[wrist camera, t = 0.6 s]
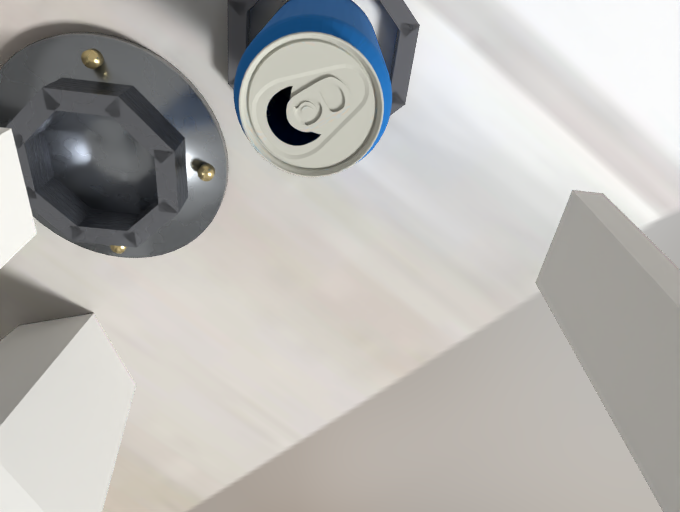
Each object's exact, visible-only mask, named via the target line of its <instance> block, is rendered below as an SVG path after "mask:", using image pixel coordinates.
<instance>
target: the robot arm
mask: <svg viewBox="0 0 680 512" xmlns="http://www.w3.org/2000/svg"><path fill="white" fill-rule="evenodd" d="M36 234H37V232H36V228H35V223H34V219H33V215H32V211H31V207H30V203H29V199H28V195H27V191H26V187H25V182H24V178H23V174H22V170H21V166H20V162H19V158H18V154H17V150H16V146H15V141H14V137H13V133H12V129H11V128H3V127H0V269H1V268H2V267H3V266H4V265H5V264H6V263H7V262H8V261H9V260H10V259H11V258H12V257H13V256H14V255H15V254H16V253H17V252H18V251H19V250H20V249H21V248H22V247H23V246H24V245H25V244H27V243H28V242H29V241H30V240H31V239H32V238H33V237H34V236H35V235H36ZM536 284H537V286H538V288H539V290H540V292H541V293H542V295H543V297H544V299H545V300H546V302H547V304H548V306H549V308H550V310H551V311H552V313H553V315H554V317H555V319H556V320H557V322H558V324H559V326H560V328H561V329H562V331H563V333H564V335H565V337H566V338H567V340H568V342H569V344H570V345H571V347H572V349H573V351H574V353H575V354H576V356H577V358H578V360H579V362H580V363H581V365H582V367H583V369H584V370H585V372H586V374H587V376H588V378H589V379H590V381H591V383H592V385H593V387H594V388H595V390H596V392H597V394H598V396H599V398H600V399H601V401H602V403H603V405H604V406H605V408H606V410H607V412H608V414H609V415H610V417H611V419H612V421H613V423H614V424H615V426H616V428H617V430H618V432H619V433H620V435H621V437H622V439H623V440H624V442H625V444H626V446H627V448H628V449H629V451H630V453H631V455H632V457H633V459H634V460H635V462H636V464H637V465H638V467H639V469H640V471H641V473H642V475H643V476H644V478H645V480H646V482H647V483H648V485H649V487H650V489H651V491H652V493H653V494H654V496H655V498H656V500H657V502H658V503H659V505H660V507H661V509H662V511H663V512H680V269H679V268H678V267H677V266H676V265H675V264H674V263H673V262H672V261H671V260H670V259H669V258H668V257H667V256H666V255H665V254H664V253H663V252H662V251H661V250H660V249H659V248H658V247H657V246H656V245H655V244H654V243H653V242H652V241H651V240H650V239H649V238H648V237H647V236H646V235H645V234H644V233H643V232H642V231H641V230H640V229H639V228H638V227H637V226H636V225H635V224H634V223H633V222H632V221H630V220H629V219H628V218H627V217H626V216H625V215H624V214H623V213H622V212H621V211H620V210H619V209H618V208H617V207H616V206H615V205H614V204H613V203H612V202H611V201H610V200H609V199H608V198H607V197H606V196H605V195H604V194H603V193H594V192H585V191H576V190H572V192H571V195H570V197H569V200H568V203H567V205H566V208H565V210H564V213H563V215H562V218H561V220H560V223H559V225H558V228H557V230H556V233H555V235H554V238H553V240H552V243H551V245H550V248H549V250H548V253H547V255H546V258H545V260H544V263H543V265H542V268H541V270H540V273H539V275H538V278H537V280H536Z"/></svg>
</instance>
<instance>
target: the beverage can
mask: <svg viewBox="0 0 680 512" xmlns="http://www.w3.org/2000/svg"><path fill="white" fill-rule="evenodd" d="M234 103H235V109H236V113H237V117H238V120H239V123H240V125H241V127H242V129H243V131H244V133H245V135H246V136H247V138H248V140H249V141H250V143H251V144H252V146H253V147H254V148H255V150H256V151H257V152H258V153H259V154H260V155H261V156H262V157H263V158H264V159H265V160H266V161H268V162H269V163H270V164H272V165H273V166H275V167H276V168H278V169H280V170H282V171H285V172H287V173H290V174H293V175H297V176H302V177H324V176H330V175H333V174H336V173H339V172H341V171H344V170H346V169H348V168H349V167H351V166H353V165H354V164H355V163H357V162H359V161H360V160H361V159H363V158H364V157H365V156H366V155H367V154H368V153H369V152H370V151H371V150H372V149H373V148H374V147H375V145H376V144H377V143H378V141H379V140H380V138H381V136H382V135H383V133H384V131H385V128H386V126H387V124H388V120H389V117H390V113H391V106H392V88H391V81H390V77H389V73H388V69H387V67H386V64H385V61H384V58H383V55H382V52H381V49H380V46H379V44H378V41H377V38H376V35H375V32H374V30H373V27H372V25H371V23H370V21H369V19H368V17H367V16H366V15H365V13H364V12H363V11H362V10H361V8H360V7H359V6H358V5H356V4H355V3H354V2H353V1H351V0H289V1H288V2H287V3H285V4H284V5H283V6H282V7H281V8H280V9H279V10H278V12H277V13H276V14H275V15H274V16H273V17H272V18H271V20H270V21H269V22H268V23H267V24H266V25H265V27H264V28H263V29H262V30H261V31H260V32H259V33H258V35H257V36H256V37H255V38H254V39H253V40H252V42H251V43H250V44H249V46H248V47H247V48H246V50H245V52H244V54H243V55H242V57H241V59H240V62H239V65H238V67H237V71H236V75H235V80H234Z"/></svg>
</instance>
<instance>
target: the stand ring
mask: <svg viewBox="0 0 680 512" xmlns="http://www.w3.org/2000/svg"><path fill="white" fill-rule="evenodd" d="M258 1H259V0H228V84H229V85H230V86H231V87H232V88H233V89H234V80H235V75H236V71H237V67H238V65H239V62H240V59H241V57H242V55H243V54H244V52H245V50H246V48H247V47H248V46H249V28H250V8H252V7H253V6H254V5H255V4H256V3H257V2H258ZM380 2H381V3H382V5H383V6H384V8H385V9H386V11H387V12H388V14H389V15H390V17H391V18H392V20H393V21H394V23H395V24H396V26H397V27H398V32H397V38H396V45H395V51H394V57H393V63H392V69H391V75H390V81H391V88H392V106H391V113H390V115H392V114H393V113H394V112H395V111H397V110H398V109H399V108H401V107H402V106H403V105H405V102H406V96H407V91H408V85H409V80H410V74H411V69H412V64H413V58H414V53H415V47H416V42H417V36H418V31H419V26H420V25H419V24H418V22H417V21H416V19H415V18H414V16H413V15H412V13H411V11H410V10H409V8H408V7H407V5H406V4H405V2H404V1H403V0H380Z"/></svg>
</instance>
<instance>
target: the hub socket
mask: <svg viewBox="0 0 680 512" xmlns="http://www.w3.org/2000/svg"><path fill="white" fill-rule="evenodd" d="M0 127H3V128H11V129H12V133H13V137H14V141H15V146H16V150H17V154H18V158H19V162H20V166H21V170H22V174H23V178H24V182H25V187H26V191H27V195H28V199H29V203H30V207H31V211H32V215H33V217H35V218H36V219H37V220H38V221H39V222H40V223H42V224H43V225H44V226H46V227H47V228H48V229H50V230H51V231H53V232H54V233H56V234H57V235H59V236H61V237H63V238H64V239H66V240H68V241H70V242H72V243H74V244H76V245H78V246H81V247H83V248H86V249H89V250H92V251H94V252H98V253H102V254H106V255H111V256H118V257H128V258H142V257H152V256H157V255H163V254H166V253H169V252H172V251H175V250H177V249H179V248H181V247H183V246H185V245H187V244H188V243H190V242H191V241H193V240H194V239H196V238H197V237H198V236H199V235H200V234H201V233H202V232H203V231H204V230H205V229H206V228H207V227H208V225H209V224H210V223H211V222H212V220H213V218H214V217H215V215H216V213H217V211H218V210H219V207H220V205H221V202H222V200H223V197H224V195H225V191H226V186H227V181H228V155H227V150H226V145H225V140H224V137H223V134H222V131H221V129H220V126H219V123H218V121H217V119H216V117H215V115H214V113H213V111H212V110H211V108H210V107H209V105H208V103H207V102H206V100H205V99H204V97H203V96H202V95H201V93H200V92H199V91H198V90H197V89H196V87H195V86H194V85H193V84H192V83H191V82H190V81H189V80H188V79H187V78H186V77H185V76H184V75H183V74H182V73H181V72H180V71H179V70H178V69H176V68H175V67H174V66H173V65H171V64H170V63H169V62H167V61H166V60H165V59H163V58H162V57H160V56H158V55H157V54H155V53H153V52H152V51H150V50H148V49H146V48H144V47H142V46H140V45H138V44H135V43H133V42H131V41H128V40H124V39H121V38H118V37H115V36H110V35H105V34H100V33H86V32H77V33H66V34H61V35H57V36H53V37H49V38H46V39H43V40H40V41H38V42H35V43H33V44H31V45H29V46H27V47H25V48H24V49H22V50H21V51H19V52H18V53H16V54H15V55H14V56H12V57H11V58H10V59H9V60H8V61H7V62H6V63H5V64H4V65H3V67H2V68H1V70H0Z"/></svg>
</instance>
